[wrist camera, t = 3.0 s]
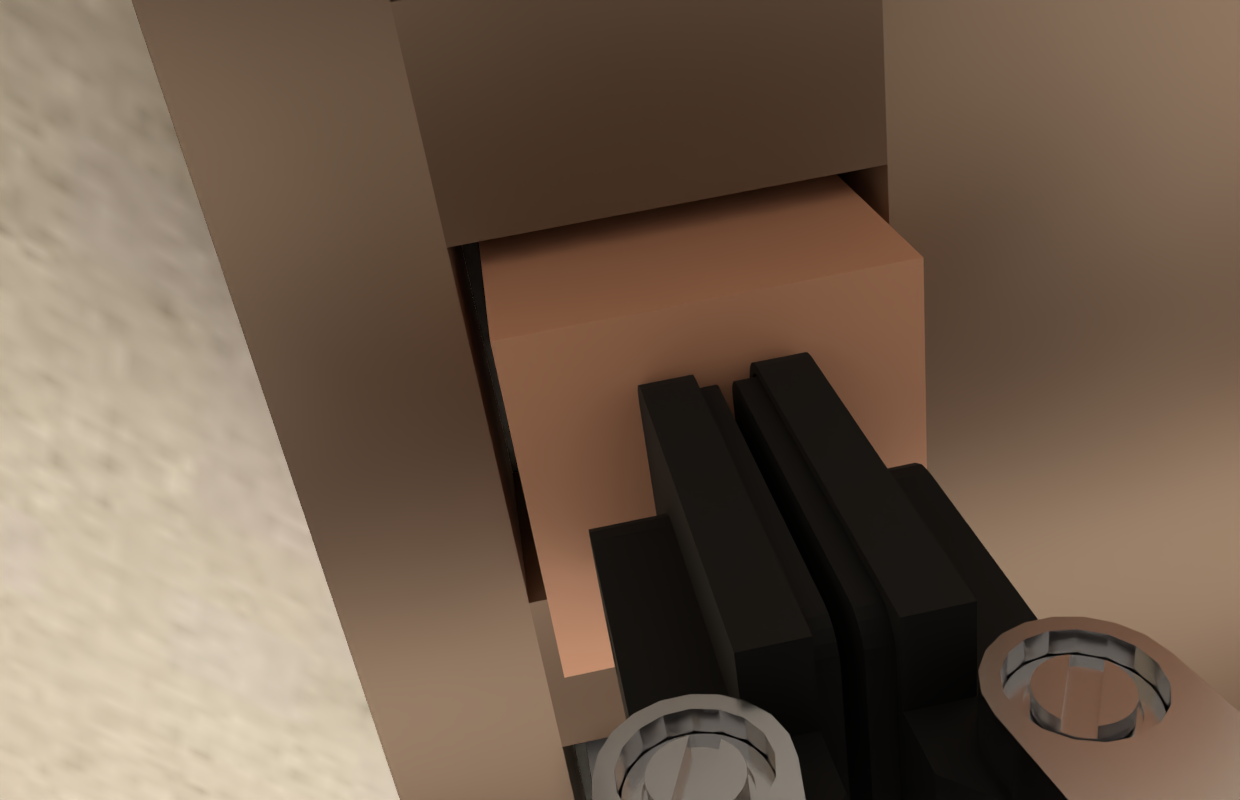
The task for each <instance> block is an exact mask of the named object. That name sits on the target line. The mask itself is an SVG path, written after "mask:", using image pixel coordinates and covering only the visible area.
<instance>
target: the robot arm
mask: <svg viewBox="0 0 1240 800" xmlns="http://www.w3.org/2000/svg"><path fill="white" fill-rule="evenodd" d="M732 394H733V404H734V413H735V419H734V417H733V415H732V413H731V411H730V408H729V406H728V404H727V402H726V400H725V398H724V396H723V394H722V392H721V390H720V388H719V386H718V385H712V386H707V387H702V388H700V387H699V385H698V383H697V381H696V379H695V377H694V375H687V376H682V377H677V378H672V379H667V380H662V381H657V382H652V383H647V384H642V385H638V399H639V406H640V412H641V418H642V425H643V431H644V438H645V444H646V451H647V457H648V463H649V470H650V476H651V483H652V489H653V496H654V502H655V509H656V515H657V516H652V517H647V518H642V519H637V520H632V521H628V522H623V523H618V524H613V525H608V526H603V527H598V528H593V529H589V536H590V542H591V547H592V553H593V558H594V563H595V568H596V573H597V579H598V584H599V589H600V594H601V599H602V605H603V610H604V615H605V620H606V625H607V630H608V635H609V640H610V645H611V650H612V655H613V660H614V664H615V669H616V674H617V679H618V684H619V688H620V693H621V698H622V703H623V707H624V712H625V717H626V720H625V721H624V722H623V723H622V724H621V725H619V726H618V727H617V728H616V729H615V730H613V731H612V733H611V734H610V736H609V737H608V739H607V741H606V742H605V744H604V745H603V747H602V748H601V750H600V751H599V753H598V756H597V760H596V765H595V769H594V774H593V779H592V800H1240V712H1239V711H1238V710H1237V709H1235V708H1234V707H1233V706H1232V705H1231V704H1230V703H1229V702H1227V701H1226V700H1225V699H1224V698H1223V697H1222V696H1221V695H1219V694H1218V693H1217V692H1216V691H1215V690H1214V689H1213V688H1211V687H1210V686H1209V685H1208V684H1207V683H1206V682H1205V681H1204V680H1202V679H1201V678H1200V677H1199V676H1198V675H1197V674H1196V673H1194V672H1193V671H1192V670H1191V669H1190V668H1189V667H1188V666H1186V665H1185V664H1184V663H1183V662H1182V661H1181V660H1180V659H1178V658H1177V657H1176V656H1175V655H1174V654H1173V653H1172V652H1170V651H1169V650H1167V649H1166V648H1165V647H1163V646H1162V645H1160V644H1159V643H1157V642H1156V641H1154V640H1153V639H1151V638H1150V637H1148V636H1147V635H1145V634H1143V633H1140V632H1138V631H1135V630H1133V629H1130V628H1128V627H1125V626H1123V625H1120V624H1118V623H1114V622H1109V621H1104V620H1099V619H1093V618H1088V617H1049V618H1044V619H1039V620H1038V619H1037V617H1036V616H1035V615H1034V613H1033V612H1032V610H1031V609H1030V608H1029V606H1028V605H1027V604H1026V602H1025V601H1024V600H1023V598H1022V597H1021V596H1020V594H1019V593H1018V591H1017V590H1016V589H1015V587H1014V586H1013V585H1012V583H1011V582H1010V581H1009V579H1008V578H1007V577H1006V575H1005V574H1004V572H1003V571H1002V570H1001V568H1000V567H999V566H998V564H997V563H996V562H995V560H994V559H993V558H992V556H991V555H990V553H989V552H988V551H987V549H986V548H985V547H984V545H983V544H982V543H981V541H980V540H979V538H978V537H977V536H976V534H975V533H974V532H973V530H972V529H971V528H970V526H969V525H968V524H967V522H966V521H965V519H964V518H963V517H962V515H961V514H960V513H959V511H958V510H957V509H956V507H955V506H954V505H953V503H952V502H951V500H950V499H949V498H948V496H947V495H946V494H945V492H944V491H943V490H942V488H941V487H940V486H939V484H938V483H937V481H936V480H935V479H934V477H933V476H932V475H931V473H930V472H929V471H928V470H927V469H926V468H925V467H924V466H923V465H922V464H919V463H911V464H906V465H901V466H896V467H891V468H887V467H886V466H885V464H884V463H883V461H882V460H881V458H880V457H879V455H878V454H877V452H876V451H875V449H874V448H873V446H872V445H871V443H870V442H869V441H868V439H867V438H866V436H865V435H864V433H863V432H862V430H861V429H860V427H859V426H858V424H857V423H856V421H855V420H854V418H853V417H852V415H851V414H850V412H849V411H848V410H847V408H846V407H845V405H844V404H843V402H842V401H841V399H840V398H839V396H838V395H837V393H836V392H835V390H834V389H833V387H832V386H831V384H830V383H829V381H828V380H827V379H826V377H825V376H824V374H823V373H822V371H821V370H820V368H819V367H818V365H817V364H816V362H815V361H814V359H813V358H812V356H811V355H810V354H809V353H808V352H804V353H798V354H793V355H788V356H783V357H778V358H773V359H768V360H763V361H758V362H753V363H751V365H750V378H747V379H742V380H737V381H733V384H732Z"/></svg>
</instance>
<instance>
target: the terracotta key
mask: <svg viewBox="0 0 1240 800" xmlns="http://www.w3.org/2000/svg"><path fill="white" fill-rule="evenodd" d="M479 247H480V256H481V264H482V273H483V282H484V291H485V300H486V309H487V318H488V327H489V335H490V343H491V347H492V352H493V357H494V361H495V366H496V370H497V375H498V379H499V384H500V388H501V393H502V397H503V402H504V406H505V411H506V415H507V420H508V424H509V429H510V433H511V438H512V443H513V447H514V452H515V456H516V461H517V465H518V470H519V474H520V479H521V483H522V488H523V492H524V497H525V501H526V506H527V510H528V515H529V519H530V524H531V528H532V533H533V538H534V542H535V547H536V551H537V556H538V560H539V565H540V569H541V574H542V578H543V583H544V587H545V592H546V596H547V601H548V605H549V610H550V614H551V619H552V623H553V628H554V633H555V637H556V642H557V646H558V651H559V655H560V660H561V664H562V669H563V673H564V678H566V677H570V676H575V675H580V674H585V673H589V672H594V671H599V670H603V669H608V668H613V667H615V664H614V660H613V655H612V650H611V645H610V640H609V635H608V630H607V625H606V620H605V615H604V610H603V605H602V599H601V594H600V589H599V584H598V579H597V573H596V568H595V563H594V558H593V553H592V547H591V542H590V536H589V529H593V528H598V527H603V526H608V525H613V524H618V523H623V522H628V521H632V520H637V519H642V518H647V517H652V516H657V515H656V509H655V502H654V496H653V489H652V483H651V476H650V470H649V463H648V457H647V451H646V444H645V438H644V431H643V425H642V418H641V412H640V406H639V399H638V385H642V384H647V383H652V382H657V381H662V380H667V379H672V378H677V377H682V376H687V375H694V377H695V379H696V381H697V383H698V385H699V387H700V388H702V387H707V386H712V385H718V386H719V388H720V390H721V392H722V394H723V396H724V398H725V400H726V402H727V404H728V406H729V408H730V411H731V413H732V415H733V417H734V419H735V413H734V404H733V394H732V384H733V381H737V380H742V379H747V378H750V365H751V363H753V362H758V361H763V360H768V359H773V358H778V357H783V356H788V355H793V354H798V353H804V352H808V353H809V354H810V355H811V356H812V358H813V359H814V361H815V362H816V364H817V365H818V367H819V368H820V370H821V371H822V373H823V374H824V376H825V377H826V379H827V380H828V381H829V383H830V384H831V386H832V387H833V389H834V390H835V392H836V393H837V395H838V396H839V398H840V399H841V401H842V402H843V404H844V405H845V407H846V408H847V410H848V411H849V412H850V414H851V415H852V417H853V418H854V420H855V421H856V423H857V424H858V426H859V427H860V429H861V430H862V432H863V433H864V435H865V436H866V438H867V439H868V441H869V442H870V443H871V445H872V446H873V448H874V449H875V451H876V452H877V454H878V455H879V457H880V458H881V460H882V461H883V463H884V464H885V466H886V467H887V468H891V467H896V466H901V465H906V464H911V463H919V464H922V465H923V466H924V467H925V468H926V469H927V440H926V379H925V319H924V259H923V257H922V256H921V255H920V254H919V253H918V252H917V251H916V250H915V249H914V248H913V247H912V246H911V245H910V244H909V243H908V242H907V241H906V240H905V239H904V238H903V237H902V236H900V235H899V234H898V233H897V232H896V231H895V230H894V229H893V228H892V227H891V226H890V225H889V224H888V223H887V222H886V221H885V220H884V219H883V218H882V217H881V216H880V215H879V214H877V213H876V212H875V211H874V210H873V209H872V208H871V207H870V206H869V205H868V204H867V203H866V202H865V201H864V200H863V199H862V198H861V197H860V196H859V195H858V194H857V193H855V192H854V191H853V190H852V189H851V188H850V187H849V186H848V185H847V184H846V183H845V182H844V181H843V180H842V179H841V178H840V177H839V176H838V175H837V174H834V175H829V176H824V177H818V178H813V179H808V180H802V181H797V182H792V183H787V184H781V185H776V186H771V187H765V188H760V189H755V190H750V191H744V192H739V193H734V194H728V195H723V196H718V197H712V198H707V199H702V200H697V201H691V202H686V203H681V204H675V205H670V206H665V207H659V208H654V209H649V210H644V211H638V212H633V213H628V214H622V215H617V216H612V217H607V218H601V219H596V220H591V221H585V222H580V223H575V224H569V225H564V226H559V227H554V228H548V229H543V230H538V231H532V232H527V233H522V234H516V235H511V236H506V237H501V238H495V239H490V240H485V241H479Z"/></svg>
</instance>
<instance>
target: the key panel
mask: <svg viewBox="0 0 1240 800" xmlns="http://www.w3.org/2000/svg"><path fill="white" fill-rule="evenodd" d="M132 3H133V6H134V9H135V12H136V15H137V18H138V21H139V24H140V27H141V30H142V33H143V36H144V39H145V42H146V45H147V47H148V50H149V53H150V56H151V59H152V62H153V65H154V68H155V71H156V74H157V77H158V80H159V83H160V86H161V89H162V92H163V95H164V98H165V101H166V104H167V107H168V110H169V113H170V116H171V119H172V122H173V125H174V128H175V131H176V134H177V137H178V140H179V143H180V146H181V149H182V152H183V155H184V158H185V161H186V164H187V167H188V170H189V173H190V176H191V179H192V182H193V184H194V187H195V190H196V193H197V196H198V199H199V202H200V205H201V208H202V211H203V214H204V217H205V220H206V223H207V226H208V229H209V232H210V235H211V238H212V241H213V244H214V247H215V250H216V253H217V256H218V259H219V262H220V265H221V268H222V271H223V274H224V277H225V280H226V283H227V286H228V289H229V292H230V295H231V298H232V301H233V304H234V307H235V310H236V313H237V316H238V319H239V321H240V324H241V327H242V330H243V333H244V336H245V339H246V342H247V345H248V348H249V351H250V354H251V357H252V360H253V363H254V366H255V369H256V372H257V375H258V378H259V381H260V384H261V387H262V390H263V393H264V396H265V399H266V402H267V405H268V408H269V411H270V414H271V417H272V420H273V423H274V426H275V429H276V432H277V435H278V438H279V441H280V444H281V447H282V450H283V453H284V456H285V459H286V461H287V464H288V467H289V470H290V473H291V476H292V479H293V482H294V485H295V488H296V491H297V494H298V497H299V500H300V503H301V506H302V509H303V512H304V515H305V518H306V521H307V524H308V527H309V530H310V533H311V536H312V539H313V542H314V545H315V548H316V551H317V554H318V557H319V560H320V563H321V566H322V569H323V572H324V575H325V578H326V581H327V584H328V587H329V590H330V593H331V596H332V598H333V601H334V604H335V607H336V610H337V613H338V616H339V619H340V622H341V625H342V628H343V631H344V634H345V637H346V640H347V643H348V646H349V649H350V652H351V655H352V658H353V661H354V664H355V667H356V670H357V673H358V676H359V679H360V682H361V685H362V688H363V691H364V694H365V697H366V700H367V703H368V706H369V709H370V712H371V715H372V718H373V721H374V724H375V727H376V730H377V733H378V735H379V738H380V741H381V744H382V747H383V750H384V753H385V756H386V759H387V762H388V765H389V768H390V771H391V774H392V777H393V780H394V783H395V786H396V789H397V792H398V795H399V798H400V800H586V797H585V793H584V788H583V784H582V779H581V775H580V770H579V766H578V762H577V757H576V753H575V748H574V744H579V743H583V742H588V741H592V740H597V739H602V738H606V737H609V736H610V734H611V733H612V731H613V730H615V729H616V728H617V727H618V726H619V725H621V724H622V723H623V722H624V721H625V720H626V717H625V712H624V707H623V703H622V698H621V693H620V688H619V684H618V679H617V674H616V669H615V667H613V668H608V669H603V670H599V671H594V672H589V673H585V674H580V675H575V676H570V677H566V678H564V673H563V669H562V664H561V660H560V655H559V651H558V646H557V642H556V637H555V633H554V628H553V623H552V619H551V614H550V610H549V605H548V601H547V596H546V592H545V587H544V583H543V578H542V574H541V569H540V565H539V560H538V556H537V551H536V547H535V542H534V538H533V533H532V528H531V524H530V519H529V515H528V510H527V506H526V501H525V497H524V492H523V488H522V483H521V479H520V474H519V472H516V473H513V472H512V467H511V463H510V458H509V454H508V449H507V445H506V440H505V436H504V432H503V427H502V423H501V418H500V414H499V409H498V405H497V400H496V396H495V391H494V387H493V382H492V378H491V374H490V369H489V365H488V360H487V356H486V351H485V347H484V342H483V338H482V333H481V329H480V325H479V320H478V316H477V311H476V307H475V302H474V298H473V293H472V289H471V284H470V280H469V275H468V271H467V267H466V262H465V258H464V253H463V249H462V245H463V244H469V243H474V242H479V241H485V240H490V239H495V238H501V237H506V236H511V235H516V234H522V233H527V232H532V231H538V230H543V229H548V228H554V227H559V226H564V225H569V224H575V223H580V222H585V221H591V220H596V219H601V218H607V217H612V216H617V215H622V214H628V213H633V212H638V211H644V210H649V209H654V208H659V207H665V206H670V205H675V204H681V203H686V202H691V201H697V200H702V199H707V198H712V197H718V196H723V195H728V194H734V193H739V192H744V191H750V190H755V189H760V188H765V187H771V186H776V185H781V184H787V183H792V182H797V181H802V180H808V179H813V178H818V177H824V176H829V175H834V174H837V175H838V176H839V177H840V178H841V179H842V180H843V181H844V182H845V183H846V184H847V185H848V186H849V187H850V188H851V189H852V190H853V191H854V192H855V193H857V194H858V195H859V196H860V197H861V198H862V199H863V200H864V201H865V202H866V203H867V204H868V205H869V206H870V207H871V208H872V209H873V210H874V211H875V212H876V213H877V214H879V215H880V216H881V217H882V218H883V219H884V220H885V221H886V222H887V223H888V224H889V225H890V226H891V227H892V228H893V229H894V230H895V231H896V232H897V233H898V234H899V235H900V236H902V237H903V238H904V239H905V240H906V241H907V242H908V243H909V244H910V245H911V246H912V247H913V248H914V249H915V250H916V251H917V252H918V253H919V254H920V255H921V256H922V257H923V259H924V319H925V379H926V440H927V470H928V471H929V472H930V473H931V475H932V476H933V477H934V479H935V480H936V481H937V483H938V484H939V486H940V487H941V488H942V490H943V491H944V492H945V494H946V495H947V496H948V498H949V499H950V500H951V502H952V503H953V505H954V506H955V507H956V509H957V510H958V511H959V513H960V514H961V515H962V517H963V518H964V519H965V521H966V522H967V524H968V525H969V526H970V528H971V529H972V530H973V532H974V533H975V534H976V536H977V537H978V538H979V540H980V541H981V543H982V544H983V545H984V547H985V548H986V549H987V551H988V552H989V553H990V555H991V556H992V558H993V559H994V560H995V562H996V563H997V564H998V566H999V567H1000V568H1001V570H1002V571H1003V572H1004V574H1005V575H1006V577H1007V578H1008V579H1009V581H1010V582H1011V583H1012V585H1013V586H1014V587H1015V589H1016V590H1017V591H1018V593H1019V594H1020V596H1021V597H1022V598H1023V600H1024V601H1025V602H1026V604H1027V605H1028V606H1029V608H1030V609H1031V610H1032V612H1033V613H1034V615H1035V616H1036V617H1037V619H1038V620H1039V619H1044V618H1049V617H1088V618H1093V619H1099V620H1104V621H1109V622H1114V623H1118V624H1120V625H1123V626H1125V627H1128V628H1130V629H1133V630H1135V631H1138V632H1140V633H1143V634H1145V635H1147V636H1148V637H1150V638H1151V639H1153V640H1154V641H1156V642H1157V643H1159V644H1160V645H1162V646H1163V647H1165V648H1166V649H1167V650H1169V651H1170V652H1172V653H1173V654H1174V655H1175V656H1176V657H1177V658H1178V659H1180V660H1181V661H1182V662H1183V663H1184V664H1185V665H1186V666H1188V667H1189V668H1190V669H1191V670H1192V671H1193V672H1194V673H1196V674H1197V675H1198V676H1199V677H1200V678H1201V679H1202V680H1204V681H1205V682H1206V683H1207V684H1208V685H1209V686H1210V687H1211V688H1213V689H1214V690H1215V691H1216V692H1217V693H1218V694H1219V695H1221V696H1222V697H1223V698H1224V699H1225V700H1226V701H1227V702H1229V703H1230V704H1231V705H1232V706H1233V707H1234V708H1235V709H1237V710H1238V711H1239V712H1240V0H132Z"/></svg>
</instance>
